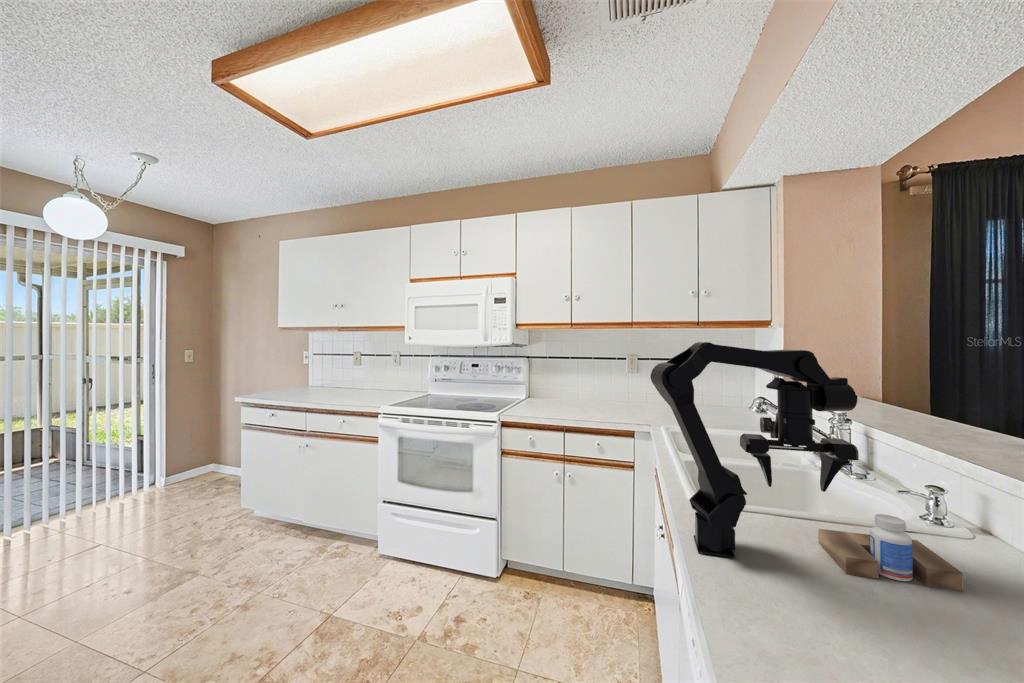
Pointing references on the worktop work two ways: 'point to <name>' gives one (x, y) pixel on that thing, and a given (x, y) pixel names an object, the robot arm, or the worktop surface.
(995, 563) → the worktop surface
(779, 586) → the worktop surface
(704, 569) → the worktop surface
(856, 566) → the notched board
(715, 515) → the robot arm
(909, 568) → the pill bottle
